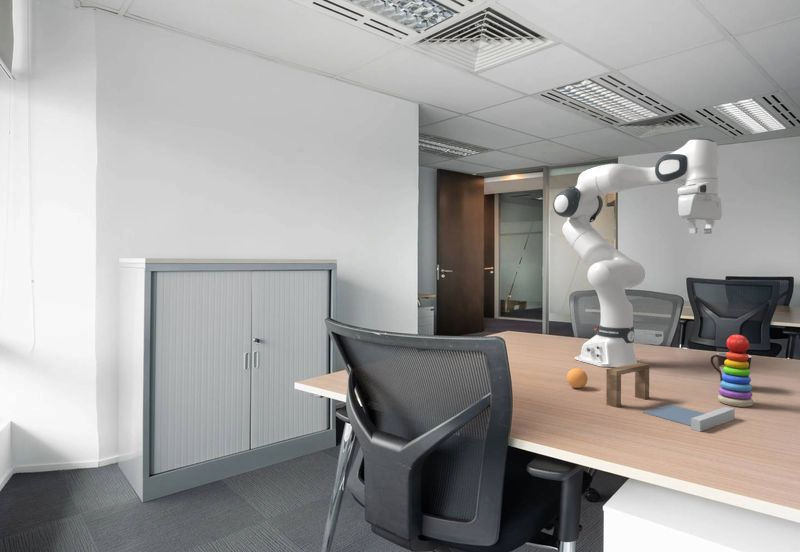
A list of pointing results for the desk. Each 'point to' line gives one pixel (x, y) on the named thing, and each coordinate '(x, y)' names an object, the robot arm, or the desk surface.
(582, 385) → the ball
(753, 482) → the desk surface
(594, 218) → the robot arm
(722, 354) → the coffee mug
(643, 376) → the bridge
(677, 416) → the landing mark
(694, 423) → the stopper wall
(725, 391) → the stacking toy
